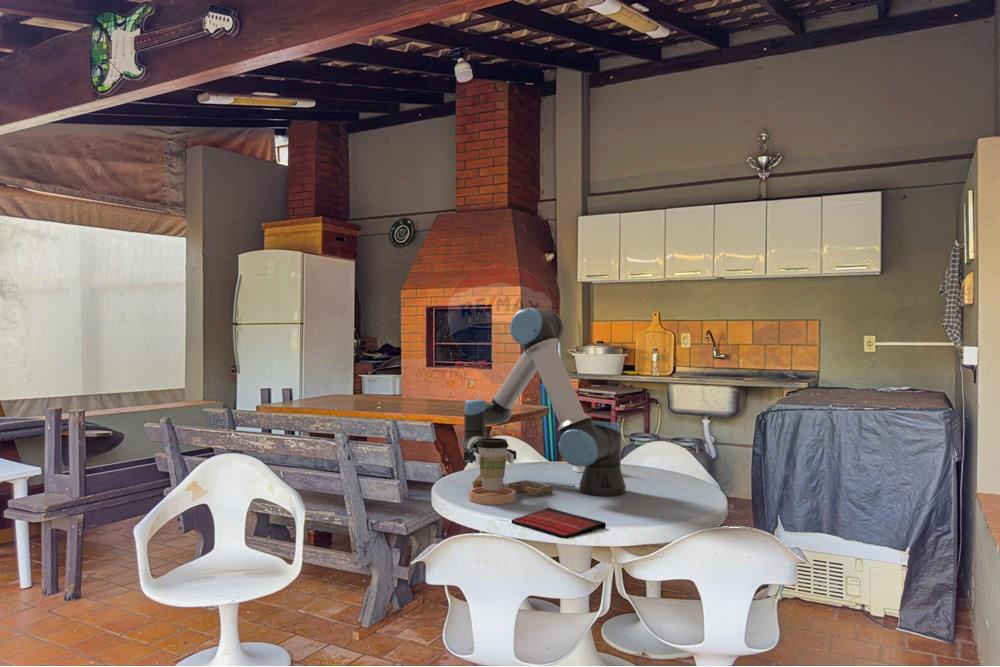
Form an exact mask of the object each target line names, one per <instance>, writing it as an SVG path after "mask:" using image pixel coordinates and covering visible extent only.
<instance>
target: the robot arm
mask: <svg viewBox="0 0 1000 667" xmlns="http://www.w3.org/2000/svg"><path fill="white" fill-rule="evenodd" d="M511 319H512V320H511V322H510V326H509V332H510V336H511V338H512V339H513V340H514V341H515V342H516V343H518V344H519V345H521V346H522V348H523V352H522V354H521V355H520V357H519V359H518V360H517V361H516V363H515V365H514V366H513V368H512V369H511V371H510V372H509V374H508V375H507V377H506V378H505V380H504V381H503V383H502V385H501V386H500V387H499V389H498V391H497V392H496V394H495V395H494V397H493V398H492V400H491V401H490V402H489V403H487V402H486V401H487V400H484V399H480V398H479V399H466V401H465V402H464V403H465V404H464V412H463V414H464V426H463V428H464V431H463V437H462V441H461V444H462V445H461V446H462V448H463V454H462V456H463V458H462V459H463V460H462V461H465V462H466V461H468V460H469V464H473V463H475V464H476V465H477V466H480V455H479V449H478V447H477V444H478V443H479V439H483V438H487V437H486V435H487V434H486V431H487V426H489V425H490V426H491V425H497V424H498V425H499V424H503V423H506V422H508V421H509V420H510V419H511V416H512V408H513V406H514V405H515V403H516V402H517V401H518V399H519V397H520V396H521V395H522V393H523V392H524V390H525V389H526V387H527V385H528V384H529V383H530V381H531V380H532V379H533V377H534V375H535V374H536V373H537V372H538V374H539V377H540V380H541V382H542V384H543V387H544V389H545V391H546V394H547V396H548V399H549V400H550V403H551V407H552V408H553V410H554V413H555V415H556V418H557V420H558V422H559V427H558V428H557V432H558V435H559V437H560V438H559V442H558V451H559V454H560V456H561V457H562V459H563V460H564V461H565V462H566V463H568V465H571V466H572V467H573V466H585V469H584V472H583V473H582V475H581V479H580V482H579V491H580V492H581V493H583V494H587V495H592V496H607V497H608V496H620V495H624V494H626V492H627V491H626V490H627V488H626V482H625V479H624V474H623V472H622V466H621V461H622V460H621V459H622V457H621V456H622V454H621V452H622V430H621V425H620V423H617V422H609V421H600V420H599V421H598V420H593V417H592V416H590V415H588V414H586V413H585V411H584V409H583V407H582V403H581V401H580V400H579V397H578V395H577V393H576V391H575V390H576V389H575V388H574V386H573V383H572V381H571V378H570V376H569V373H568V372H567V369H566V367H565V365H564V363H563V360H562V357H561V356H560V353H559V351H558V348H557V346H558V345H559V343H560V341H561V339H562V338H563V334H564V322H563V320H562V318H561V316H560V315H559V314H557V313H556V312H555V311H554V310H550V309H540V308H534V307H528V308H522V309H520V310H518V311H517V312H516V313H515V314H514V315H513V317H512V318H511ZM506 455H507V457H506V462H508V463H509V464H511V465H514V460H517V450H513V449H509V448H507V452H506Z"/></svg>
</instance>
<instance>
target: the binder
mask: <svg viewBox="0 0 1000 667" xmlns="http://www.w3.org/2000/svg"><path fill="white" fill-rule="evenodd" d="M511 524H513V525H516V526H521V527H525V528H529V529H532V530H535V531H539V532H543V533H546V534H551V535H552V536H554V537H557V538H559V539H560V538H561V539H568V538H574V537H577V536H578V537H579V536H581V535H587V534H591V533H595V532H597V531H598V530H597V529H596V528H598V529H599V528H600V529H606V528H607V525H606V522H605V521H601V520H597V519H594V518H588V517H586V516H582V515H577V514H573V513H569V512H565V511H562V510H560V509H556V508H551V507H547V508H543V509H541V510H537V511H534V512H532V513H529V514H526V515H522V516H519V517H515V518H513V519H511ZM595 529H596V530H595Z"/></svg>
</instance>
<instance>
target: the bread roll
mask: <svg viewBox="0 0 1000 667" xmlns="http://www.w3.org/2000/svg"><path fill="white" fill-rule="evenodd" d="M504 484H505V483H503V485H502V487H505V485H504ZM478 487H482V480H481V474H479V475H478V476H476V478H475V479H474V480H473V482H472V488H478Z"/></svg>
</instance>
